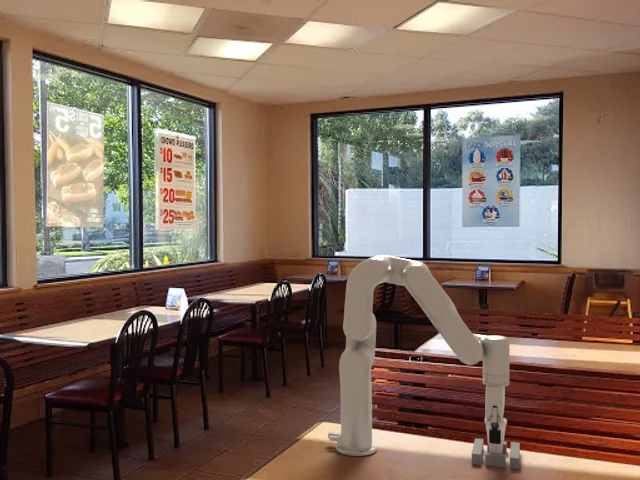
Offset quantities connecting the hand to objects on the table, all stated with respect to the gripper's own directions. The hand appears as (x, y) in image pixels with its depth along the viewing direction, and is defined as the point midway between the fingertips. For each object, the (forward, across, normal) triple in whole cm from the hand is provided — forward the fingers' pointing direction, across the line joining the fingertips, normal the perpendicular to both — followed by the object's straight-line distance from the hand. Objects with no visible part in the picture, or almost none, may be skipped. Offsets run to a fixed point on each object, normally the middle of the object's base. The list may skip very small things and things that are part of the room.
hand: (495, 438), depth 181 cm
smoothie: (+4, 0, 0) cm, 4 cm away
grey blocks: (+6, 0, 0) cm, 6 cm away
